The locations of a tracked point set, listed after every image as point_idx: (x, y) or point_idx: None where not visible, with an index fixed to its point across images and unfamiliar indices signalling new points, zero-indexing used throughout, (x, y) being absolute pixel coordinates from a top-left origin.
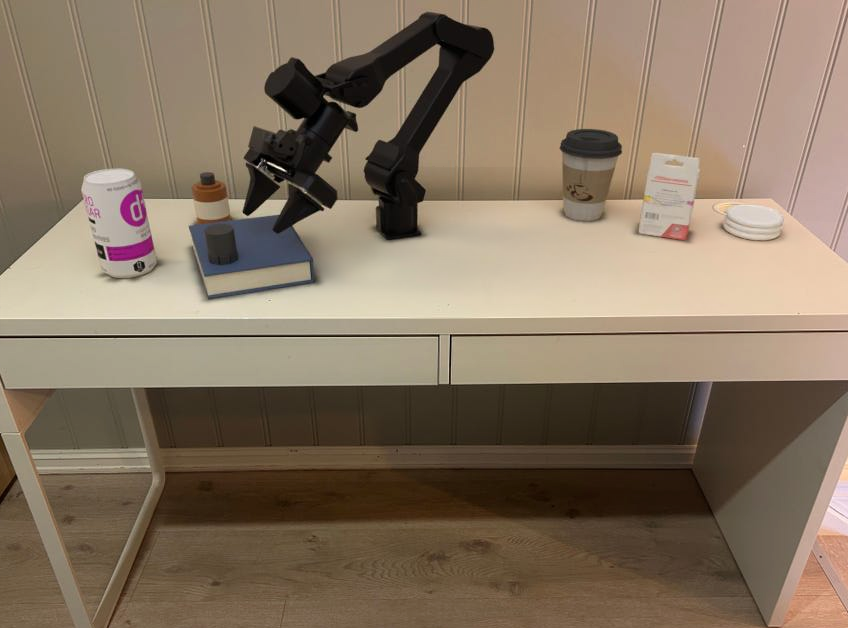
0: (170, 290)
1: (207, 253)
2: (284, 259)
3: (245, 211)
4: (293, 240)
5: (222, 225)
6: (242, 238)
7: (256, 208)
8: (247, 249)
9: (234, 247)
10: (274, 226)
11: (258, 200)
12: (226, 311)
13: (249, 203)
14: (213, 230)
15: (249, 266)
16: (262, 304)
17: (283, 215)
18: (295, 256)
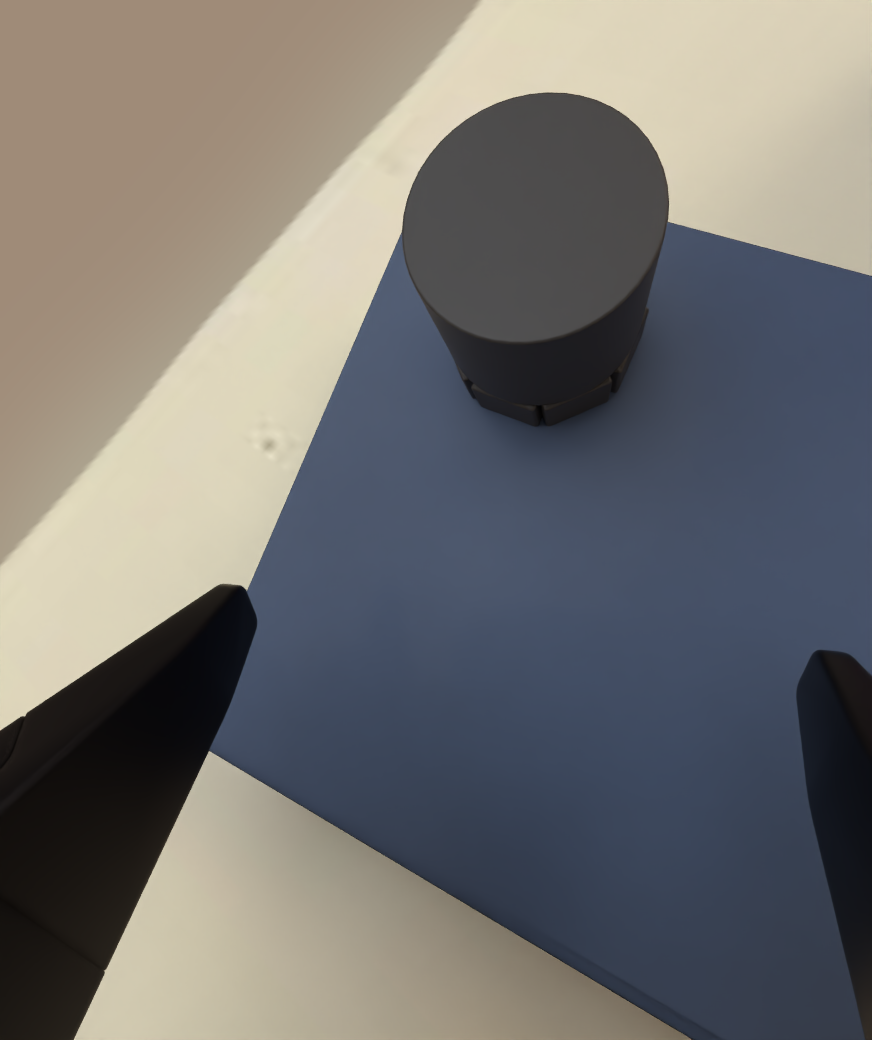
0: (675, 141)
1: (703, 296)
2: (287, 608)
3: (819, 676)
4: (487, 854)
5: (587, 278)
6: (783, 614)
7: (816, 825)
8: (571, 527)
9: (449, 350)
10: (211, 603)
11: (868, 922)
12: (314, 259)
13: (855, 765)
14: (533, 163)
15: (346, 401)
16: (262, 402)
17: (71, 686)
18: (275, 683)
